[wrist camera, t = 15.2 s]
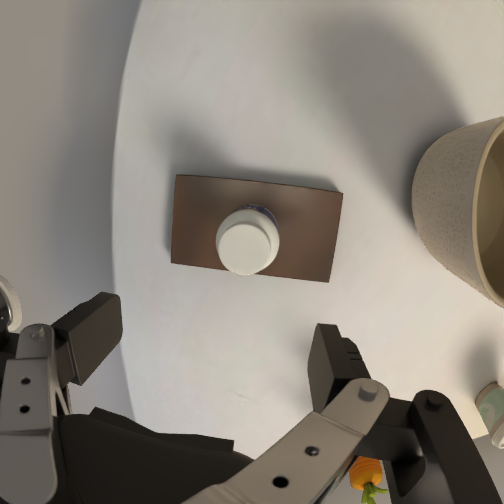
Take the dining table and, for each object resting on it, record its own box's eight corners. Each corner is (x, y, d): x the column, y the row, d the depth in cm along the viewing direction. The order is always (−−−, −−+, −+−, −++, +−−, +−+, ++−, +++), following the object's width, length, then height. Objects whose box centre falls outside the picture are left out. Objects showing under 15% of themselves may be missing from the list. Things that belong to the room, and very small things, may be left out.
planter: (367, 202, 32) (433, 222, 17) (441, 104, 28) (519, 76, 13) (448, 289, 33) (516, 342, 18) (510, 197, 29) (586, 212, 14)
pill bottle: (259, 193, 31) (252, 199, 21) (288, 235, 32) (294, 259, 22) (217, 222, 32) (194, 241, 22) (246, 263, 33) (235, 296, 23)
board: (174, 259, 35) (170, 263, 33) (180, 174, 32) (175, 174, 31) (326, 278, 34) (329, 282, 33) (340, 192, 32) (343, 193, 30)
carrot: (346, 422, 39) (363, 497, 25) (374, 423, 39) (396, 493, 25) (336, 441, 40) (348, 513, 26) (362, 441, 40) (379, 510, 26)
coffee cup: (476, 385, 37) (507, 425, 25) (507, 371, 36) (539, 405, 24) (464, 417, 39) (489, 457, 27) (495, 403, 38) (521, 438, 26)
